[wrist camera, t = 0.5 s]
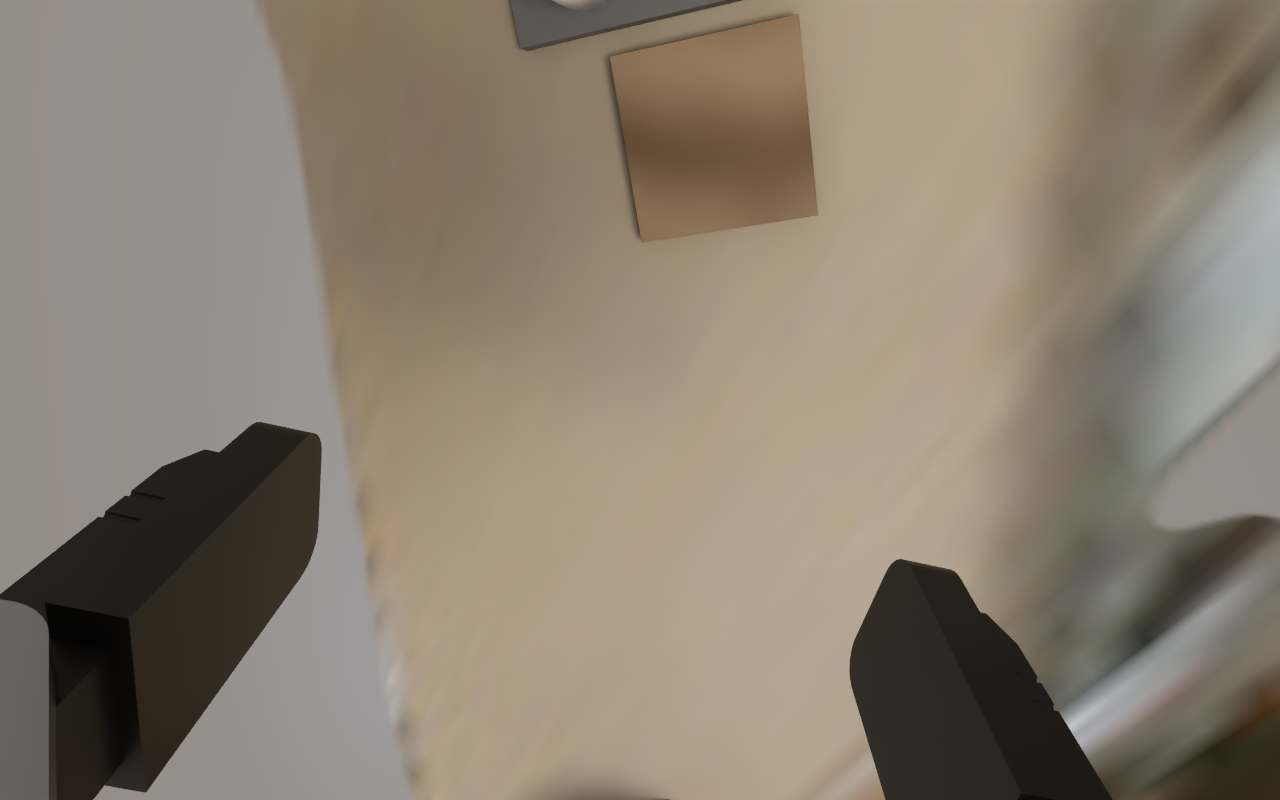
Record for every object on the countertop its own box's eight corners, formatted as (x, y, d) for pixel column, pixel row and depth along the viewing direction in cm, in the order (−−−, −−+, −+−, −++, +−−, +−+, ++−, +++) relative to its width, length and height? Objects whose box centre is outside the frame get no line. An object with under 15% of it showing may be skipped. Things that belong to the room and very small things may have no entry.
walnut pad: (615, 59, 28) (609, 56, 27) (798, 17, 26) (799, 13, 25) (646, 239, 30) (641, 242, 29) (817, 212, 28) (817, 215, 27)
